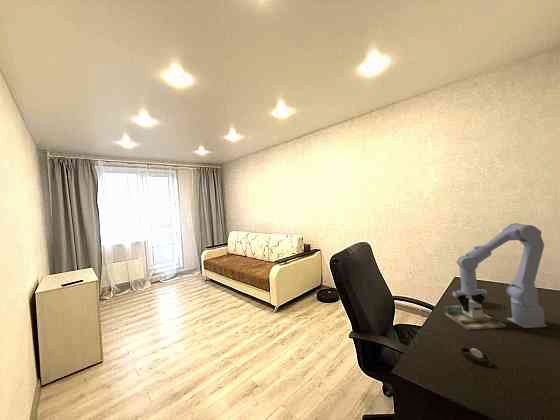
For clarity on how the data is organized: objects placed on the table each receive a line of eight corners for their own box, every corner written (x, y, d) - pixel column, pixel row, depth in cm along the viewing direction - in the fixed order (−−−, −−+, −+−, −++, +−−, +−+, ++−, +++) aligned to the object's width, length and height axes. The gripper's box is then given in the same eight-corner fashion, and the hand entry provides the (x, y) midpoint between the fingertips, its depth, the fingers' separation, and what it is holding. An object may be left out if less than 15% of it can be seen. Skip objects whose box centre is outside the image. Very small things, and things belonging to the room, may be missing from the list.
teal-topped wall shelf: (478, 312, 110) (477, 303, 110) (505, 327, 96) (504, 316, 96) (445, 314, 111) (444, 305, 111) (468, 329, 97) (467, 319, 97)
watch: (491, 362, 77) (490, 352, 77) (487, 369, 75) (486, 358, 75) (464, 352, 84) (463, 342, 84) (459, 357, 81) (458, 347, 81)
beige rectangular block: (471, 311, 107) (470, 299, 107) (483, 318, 101) (482, 305, 101) (462, 312, 107) (461, 300, 107) (473, 319, 101) (472, 306, 101)
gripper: (476, 277, 108) (479, 305, 108) (446, 280, 109) (449, 307, 109) (490, 282, 101) (493, 312, 101) (458, 285, 102) (460, 314, 102)
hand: (471, 310), depth 104 cm, fingers closed on beige rectangular block, 4 cm apart
